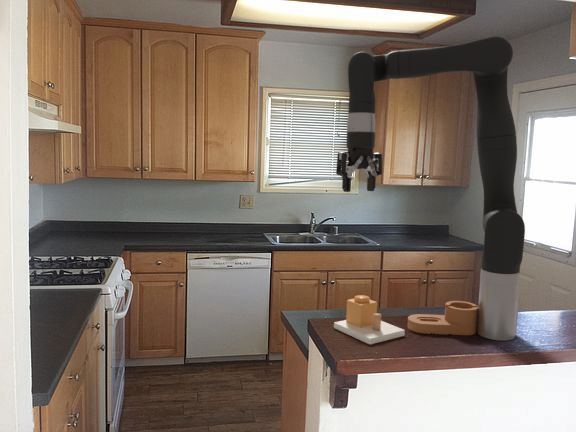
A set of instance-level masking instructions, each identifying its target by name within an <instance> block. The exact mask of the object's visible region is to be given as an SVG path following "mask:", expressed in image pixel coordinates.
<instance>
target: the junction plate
mask: <svg viewBox="0 0 576 432" xmlns="http://www.w3.org/2000/svg"><path fill="white" fill-rule="evenodd" d="M333 329H335V330H337V331H340V332H341V333H344V334H346V335H348V336H351V337H353V338H355V339H357V340H359V341H361V342H362V343H363V342H364V343H366V344H368V345H374V344H377V343H382V342H385V341H389V340H394V339H397V338H400V337H405V334H406V333H405V329H404V328H401V327H398V326H396V325H392V324H390V323H388V322H385V321H384V320H382V314H381V313H379V312H377V313H374V314H373V325H370V326H366V327H362V328H359V327H357V326H355V325H353V324H350V323H348V322H346V319H344V320H339V321H335V322H333Z"/></svg>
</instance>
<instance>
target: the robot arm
mask: <svg viewBox="0 0 576 432" xmlns="http://www.w3.org/2000/svg"><path fill="white" fill-rule="evenodd" d="M513 56H514V52H513V46H512V44H511V43H510V42H509V41H508V40H507V39H506V38H504V37H502V36H497V35H492V36H488V37H485V38H479V39H476V40H473V41H469V42H465V43H459V44H455V45H447V46H439V47H428V48H427V47H426V48H425V47H424V48H413V49H401V50H393V51H390V52H389V53H387V54H381V55H380V54H378V55H377V54H376V55H372V54H371V53H369V52H367V51H359V52H356V53H354V54H353V55H352V56H351V58H350V59H349V61H348V67H347V77H348V91H349V95H348V96H349V99H348V114H347V121H346V148H347V152H344V151H343V152H341V151H339V152H337V157H336V158H337V159H336V160H337V161H336V171H335V174H336V175H337V176H339V177H341V178H342V183H341V184H342V186H341V188H342V191H343V192H345V193H350V192H351V187H352V186H351V183H352V178H351V176H352V175H353V173H355V172H356V171H357V170H363V171H364V172H366V174H367V178H366V179H367V180H366V190H367V192H374V191H375V189H376V181H377V180H376V179H377V177H378V176H381V175H382V174H383V154H382V153H381V152H374V151H373V150H374V149H375V147H376V95H375V83H376V82H381V81H387V80H391V79H392V80H399V79H401V80H402V79H412V78H413V79H414V78H422V77H427V76H432V75H436V74H437V75H438V74H442V73H449V72H450V73H451V72H472V76H473V81H474V86H475V87H474V88H475V93H476V123H475V124H476V126H475V127H476V145H477V147H476V148H477V155H478V156H477V157H478V165H479V171H480V176H481V181H482V188H483V213H482V214H483V215H482V217H483V218H482V230H483V232H484V237H483V239H484V240H483V253H482V258H481V261H480V263H481V264H480V277H479V278H480V279H479V293H478V294H479V295H478V305H477V307H478V320H477V333H476V334H477V335H479V336H480V337H481V338H482V337H483V338H484V339H485V338H486V339H489V340H492V341H502V342H503V341H505V342H507V341H512V340H514V339H515V338H516V337H515V336H516V335H517V331H518V329H517V328H518V317H519V303H520V300H519V299H518V298H519V297H518V296H519V287H520V286H519V285H520V284H519V282H520V271H521V264H522V262H523V258H524V256H523V255H524V249H525V248H524V246H525V237H526V235H525V234H526V225H525V221H524V219H523V217H522V216H521V215H520V214H519V213H518V210H517V209H518V208H517V206H516V205H517V203H516V197H515V188H514V187H515V185H514V184H515V176H516V175H515V174H516V169H517V157H518V143H517V132H516V131H517V130H516V125H515V121H514V116H513V112H512V109H511V105H510V101H509V95H508V71H509V66H510V64H511V63H512V60H513Z"/></svg>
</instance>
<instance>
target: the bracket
mask: <svg viewBox="0 0 576 432" xmlns="http://www.w3.org/2000/svg"><path fill="white" fill-rule="evenodd" d="M444 308H445V310H444V314H428V313H427V314H424V313H422V314H421V313H416V314H410V315H409V316H407V328H408V330H410V331H412V332H413V333H418V334H429V335H448V334H452V335H451V336H454V335H456V336H472V335H475V334H478V333H477V321H478V305H477V304H476V303H472V302H469V301H463V300H450V301H447V302H445V307H444ZM431 333H432V334H431ZM433 333H434V334H433Z"/></svg>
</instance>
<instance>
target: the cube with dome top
mask: <svg viewBox="0 0 576 432" xmlns="http://www.w3.org/2000/svg"><path fill="white" fill-rule="evenodd" d="M377 309H378V301H375V300H372V299H371V297H370V296H368V295H364V294H363V295H362V294H360V295H355V296H354V297H353V298H349V299H346V316H345V317H346V319H345V320H346V322H348V323H350V324H353V325H355V326H357V327H359V328H362V327H366V326H370V325H373V314H374V313H378V312H377V311H378V310H377Z"/></svg>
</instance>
